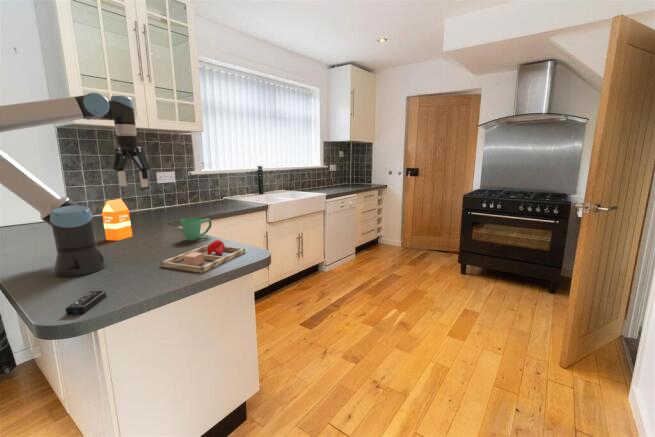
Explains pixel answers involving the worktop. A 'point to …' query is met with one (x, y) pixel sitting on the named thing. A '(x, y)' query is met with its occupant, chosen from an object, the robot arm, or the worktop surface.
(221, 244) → the red rounded oval lump
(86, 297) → the multiport hub
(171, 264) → the rack
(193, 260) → the block
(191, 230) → the mug
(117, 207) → the orange juice
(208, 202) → the worktop surface
